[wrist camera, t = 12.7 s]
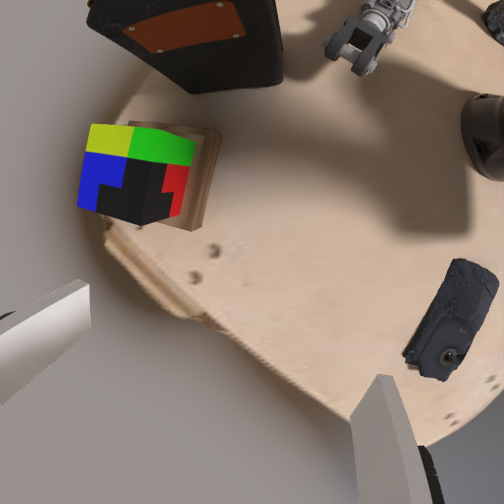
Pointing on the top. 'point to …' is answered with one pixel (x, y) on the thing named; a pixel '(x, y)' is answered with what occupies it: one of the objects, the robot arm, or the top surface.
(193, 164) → the plinth
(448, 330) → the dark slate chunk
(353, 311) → the top surface
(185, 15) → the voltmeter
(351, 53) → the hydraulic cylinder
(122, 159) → the puzzle toy
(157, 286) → the top surface
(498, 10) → the stone block
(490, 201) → the top surface
